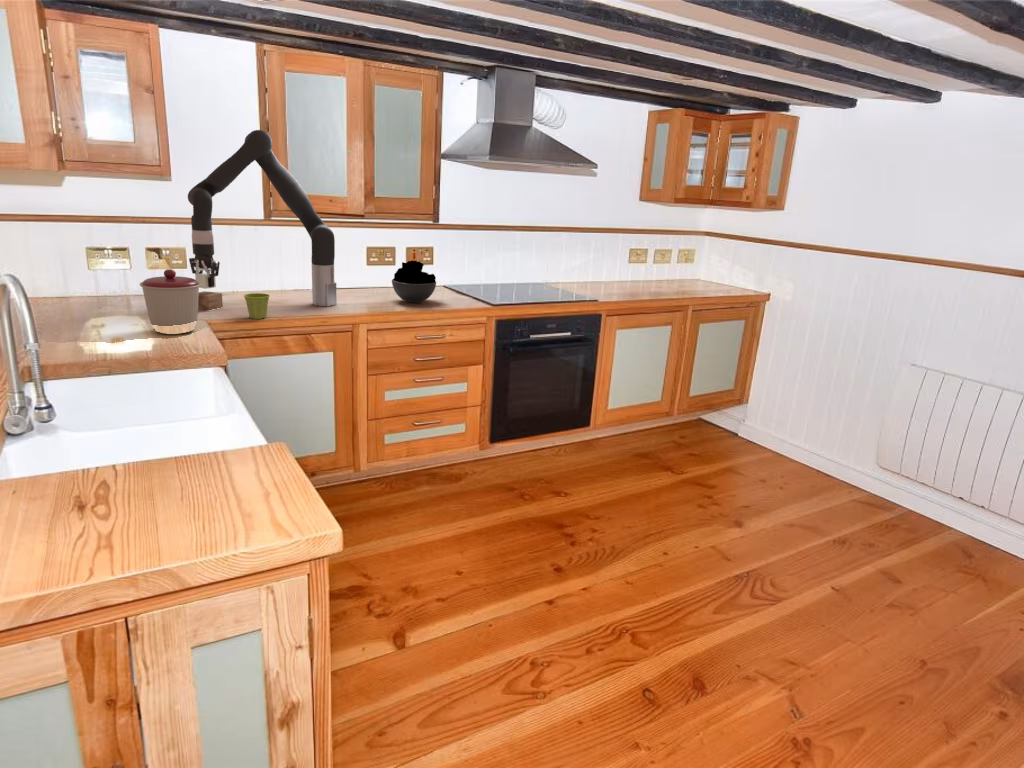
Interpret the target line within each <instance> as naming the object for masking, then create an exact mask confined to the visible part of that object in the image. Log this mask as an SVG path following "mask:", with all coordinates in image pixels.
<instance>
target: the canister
mask: <svg viewBox="0 0 1024 768" xmlns="http://www.w3.org/2000/svg"><path fill="white" fill-rule="evenodd" d="M200 285H201V283H200V282H198V281H196V279H194V278H192V277H187V276H179V275H178V276H177V272H176V271H175V270H174V269H170V268H169V269H165V270H164V271H163V276H154V277H148V278H146V279H144V280H143V281H141V282H140V283H139V286H140V287H141V289H142V294H143V298H144V303H145V307H146V311H147V315H148V318H149V322H150V325H151V324H152V325H158V326H173V325H182V324H187V323H191V322H194V321H197V322H198V317H199V316H198V315H199V310H198V299H199V292H200V288H199V286H200Z"/></svg>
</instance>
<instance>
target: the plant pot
mask: <svg viewBox="0 0 1024 768" xmlns="http://www.w3.org/2000/svg"><path fill="white" fill-rule="evenodd" d="M270 296H271V295H270V294H269V293H261V292H255V293H254V292H251V293H250V292H249V293H245V294H243V298H244V300H245V301H246V302H245V303H246V307H247V311H248V316H249V318H250V319H253V320H261V319H266V318H267V316H268V304H269V300H270Z"/></svg>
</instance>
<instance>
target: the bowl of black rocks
mask: <svg viewBox="0 0 1024 768" xmlns="http://www.w3.org/2000/svg"><path fill="white" fill-rule="evenodd" d="M424 265H425V264H424V263H422V262H421V261H420V260H419V261H417V260H408V261H407V262H403V261H402V262H401V267H399V268H398V269H397V270H396V272H395V273H394V275H393V279H391V285H392V288H393V290H394V293H396V295H397V296H398V297H399V298H400V299H401V300H402V301H405V302H408V303H410V302H411V304H417V303H422V302H425V301H426V300H428V299H429V298H430V297H431V296H432V295H433V293H434V292H435V289H436V288H437V287H436V286H437V281H436V276H435V273H431V274H429V273H428V272H425V271H423V268H424Z"/></svg>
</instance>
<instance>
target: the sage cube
mask: <svg viewBox="0 0 1024 768" xmlns="http://www.w3.org/2000/svg"><path fill="white" fill-rule="evenodd" d="M194 277H195V280H196V281H198V282H200V283H201V285H200V286H199V289H211V288H212V289H213V288H217V284H216V276H215V277H214V287H209V286H208V276H207V273H206V272H203V273H202V274H194Z"/></svg>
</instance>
